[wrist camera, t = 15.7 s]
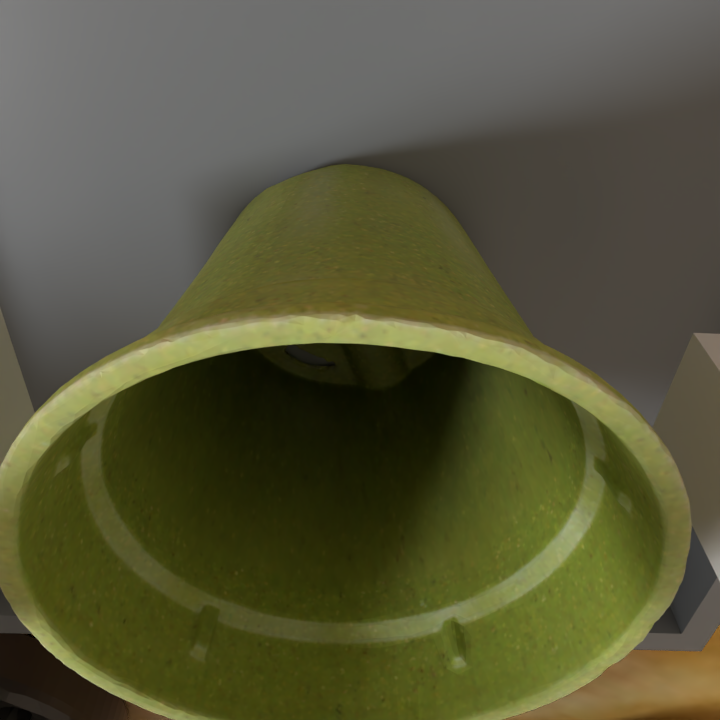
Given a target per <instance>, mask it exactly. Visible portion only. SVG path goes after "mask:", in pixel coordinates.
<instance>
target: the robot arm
mask: <svg viewBox="0 0 720 720" xmlns="http://www.w3.org/2000/svg"><path fill="white" fill-rule="evenodd" d="M34 413H35V412H34V409H33V406H32V403H31V400H30V397H29V394H28V391H27V388H26V385H25V382H24V378H23V375H22V372H21V369H20V366H19V363H18V360H17V357H16V354H15V351H14V348H13V345H12V342H11V339H10V336H9V333H8V330H7V327H6V324H5V321H4V318H3V315H2V312H1V309H0V467H1V464H2V462H3V460H4V458H5V456H6V454H7V452H8V451H9V449H10V447H11V445H12V443H13V442H14V440H15V439H16V437H17V436H18V434H19V433H20V432H21V430H22V429H23V427H24V426H25V424H26V423H27V422H28V421H29V419H30V418H31V417H32V416H33V415H34ZM652 428H653V429H654V431H655V432H656V433H657V434H658V436H659V437H660V438H661V440H662V441H663V443H664V444H665V446H666V447H667V448H668V450H669V452H670V454H671V456H672V457H673V459H674V461H675V463H676V465H677V468H678V470H679V472H680V474H681V477H682V479H683V482H684V485H685V488H686V491H687V495H688V498H689V502H690V512H691V522H692V526H693V528H694V530H695V533H696V535H697V537H698V539H699V541H700V543H701V545H702V547H703V549H704V551H705V553H706V555H707V557H708V559H709V561H710V563H711V565H712V567H713V569H714V571H715V573H716V575H717V577H718V579H719V581H720V334H710V333H693V335H692V337H691V339H690V342H689V344H688V346H687V349H686V351H685V353H684V356H683V358H682V360H681V362H680V365H679V367H678V369H677V372H676V374H675V376H674V379H673V381H672V383H671V386H670V388H669V390H668V392H667V395H666V397H665V399H664V402H663V404H662V406H661V409H660V411H659V413H658V416H657V418H656V420H655V423H654V425H653V427H652ZM0 720H128V713H127V709H126V706H125V704H124V702H123V700H122V698H120V697H117V696H115V695H113V694H111V693H109V692H107V691H106V690H104V689H102V688H100V687H99V686H97V685H95V684H93V683H92V682H90V681H89V680H87V679H85V678H84V677H82V676H80V675H79V674H78V673H77V672H75V671H74V670H72V669H70V668H69V667H67V666H66V665H64V664H63V663H62V662H61V661H60V660H59V659H57V658H56V657H55V656H54V655H53V654H52V653H51V652H49V651H48V650H47V649H46V648H45V647H44V646H43V645H42V644H41V643H40V642H39V640H37V639H35V638H32V637H29V636H27V635H24V634H21V633H0Z"/></svg>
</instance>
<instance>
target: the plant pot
mask: <svg viewBox="0 0 720 720" xmlns="http://www.w3.org/2000/svg"><path fill="white" fill-rule="evenodd" d="M289 345H294V346H297V347H298V348H300V349H302V350H304V351H306V352H308V353H310V354H312V355H315V356H317V357H320V358H324V359H325V360H326V361H327V362H330V361H332V362H334V363H335V366H334V365H331V366H316V365H311V364H307V363H304V362H301V361H299V360H297V359H296V358H294V357H292V356H290V354H289V353H288V352H287V351H286V348H287V346H289ZM691 529H692V522H691V512H690V502H689V498H688V495H687V491H686V488H685V485H684V482H683V479H682V477H681V474H680V472H679V470H678V468H677V465H676V463H675V461H674V459H673V457H672V456H671V454H670V452H669V450H668V448H667V447H666V446H665V444H664V443H663V441H662V440H661V438H660V437H659V436H658V434H657V433H656V432H655V431H654V429H653V428H652V427H651V426H650V424H649V423H648V422H647V421H646V419H645V418H644V417H643V416H642V414H641V413H640V412H639V411H638V410H637V409H636V408H635V407H634V406H633V405H632V404H631V403H630V402H629V401H628V400H627V399H626V398H625V397H624V396H623V395H622V394H621V393H619V392H618V391H617V390H616V389H614V388H613V387H612V386H611V385H609V384H608V383H607V382H606V381H604V380H603V379H602V378H601V377H600V376H598V375H597V374H596V373H594V372H593V371H591V370H589V369H588V368H586V367H585V366H583V365H582V364H580V363H578V362H577V361H575V360H574V359H572V358H570V357H568V356H566V355H564V354H562V353H561V352H559V351H557V350H555V349H553V348H551V347H549V346H547V345H544V344H543V343H542V342H540V341H539V340H538V339H536V338H535V337H534V336H533V335H532V333H531V332H530V330H529V328H528V327H527V325H526V324H525V322H524V321H523V319H522V318H521V316H520V315H519V313H518V312H517V310H516V309H515V307H514V306H513V304H512V303H511V301H510V300H509V298H508V297H507V295H506V294H505V292H504V291H503V289H502V288H501V286H500V285H499V283H498V282H497V280H496V279H495V277H494V276H493V274H492V272H491V271H490V269H489V268H488V266H487V265H486V263H485V262H484V260H483V258H482V257H481V255H480V254H479V252H478V250H477V249H476V247H475V246H474V244H473V243H472V241H471V239H470V238H469V236H468V235H467V233H466V232H465V230H464V229H463V227H462V226H461V224H460V223H459V221H458V220H457V219H456V217H455V216H454V215H453V214H452V212H451V211H450V210H449V209H448V207H447V206H446V205H445V204H444V203H442V202H441V201H440V200H439V199H438V198H437V197H436V196H435V195H433V194H432V193H431V192H430V191H428V190H427V189H426V188H424V187H423V186H421V185H420V184H418V183H416V182H414V181H412V180H411V179H409V178H407V177H404V176H402V175H399V174H397V173H393V172H390V171H387V170H384V169H380V168H374V167H368V166H362V165H351V164H341V165H332V166H327V167H324V168H320V169H316V170H313V171H309V172H306V173H303V174H300V175H297V176H294V177H292V178H289V179H287V180H285V181H282V182H280V183H278V184H276V185H273V186H271V187H269V188H267V189H266V190H264V191H263V192H262V193H260V194H259V195H258V196H257V197H255V198H254V199H253V200H252V201H251V202H250V203H249V204H248V205H247V206H246V207H245V209H244V210H243V211H242V212H241V213H240V215H239V216H238V218H237V219H236V221H235V222H234V223H233V225H232V226H231V228H230V229H229V230H228V232H227V233H226V234H225V236H224V237H223V239H222V240H221V241H220V243H219V244H218V246H217V247H216V249H215V250H214V252H213V253H212V255H211V256H210V258H209V259H208V261H207V262H206V264H205V265H204V266H203V268H202V269H201V271H200V272H199V274H198V275H197V276H196V278H195V279H194V280H193V282H192V283H191V284H190V286H189V287H188V288H187V290H186V291H185V292H184V294H183V295H182V296H181V298H180V299H179V300H178V302H177V303H176V305H175V306H174V307H173V309H172V310H171V311H170V312H169V314H168V315H167V316H166V318H165V319H164V320H163V322H162V323H161V324H160V326H159V327H158V328H157V329H156V330H154V331H153V332H151V333H150V334H148V335H147V336H145V337H144V338H142V339H140V340H137V341H135V342H133V343H131V344H129V345H127V346H125V347H123V348H121V349H119V350H117V351H115V352H113V353H111V354H109V355H108V356H106V357H104V358H102V359H101V360H99V361H98V362H96V363H94V364H93V365H91V366H89V367H88V368H86V369H85V370H83V371H82V372H80V373H79V374H78V375H76V376H75V377H74V378H72V379H71V380H70V381H68V382H67V383H66V384H64V385H63V386H61V387H60V388H59V389H58V390H57V391H56V392H55V393H54V394H53V395H52V396H51V397H50V398H49V399H48V400H47V401H46V402H45V403H44V404H43V405H42V406H41V407H40V408H39V409H38V410H37V411H36V412H35V413H34V415H33V416H32V417H31V418H30V419H29V421H28V422H27V423H26V424H25V426H24V427H23V429H22V430H21V432H20V433H19V434H18V436H17V437H16V439H15V440H14V442H13V443H12V445H11V447H10V449H9V451H8V452H7V454H6V456H5V458H4V460H3V462H2V464H1V467H0V587H1V590H2V592H3V594H4V596H5V597H6V599H7V600H8V602H9V603H10V605H11V607H12V609H13V611H14V612H15V614H16V615H17V617H18V619H19V620H20V621H21V622H22V623H23V624H24V625H25V627H26V628H27V629H28V630H29V631H30V632H31V633H32V634H33V635H34V636H35V637H36V638H37V639H38V640H39V642H40V643H41V644H42V645H43V646H44V647H45V648H46V649H47V650H48V651H49V652H51V653H52V654H53V655H54V656H55V657H56V658H57V659H59V660H60V661H61V662H62V663H63V664H64V665H66V666H67V667H69V668H70V669H72V670H74V671H75V672H77V673H78V674H79V675H80V676H82V677H84V678H85V679H87V680H89V681H90V682H92V683H93V684H95V685H97V686H99V687H100V688H102V689H104V690H106V691H107V692H109V693H111V694H113V695H115V696H117V697H120V698H122V699H124V700H126V701H128V702H130V703H133V704H135V705H137V706H139V707H141V708H143V709H146V710H148V711H150V712H153V713H156V714H159V715H162V716H165V717H167V718H170V719H173V720H504V719H506V718H509V717H513V716H516V715H520V714H522V713H525V712H528V711H532V710H535V709H537V708H539V707H541V706H543V705H547V704H550V703H552V702H554V701H556V700H558V699H560V698H562V697H564V696H567V695H569V694H571V693H572V692H574V691H576V690H577V689H579V688H581V687H583V686H584V685H586V684H588V683H590V682H591V681H593V680H594V679H596V678H597V677H599V676H600V675H601V674H602V673H603V672H604V671H605V670H606V669H607V668H609V667H610V666H611V665H613V664H615V663H617V662H619V661H620V660H622V659H623V658H624V657H626V656H627V655H628V654H629V653H630V652H631V651H632V650H633V649H634V648H635V647H636V646H637V645H638V644H639V643H641V642H642V641H643V640H644V638H645V637H646V636H647V634H648V633H649V631H650V630H651V628H652V627H653V625H654V623H655V622H656V621H657V620H659V619H660V617H661V616H662V615H663V614H664V612H665V611H666V610H667V608H668V607H669V606H670V605H671V603H672V601H673V599H674V597H675V595H676V593H677V591H678V588H679V586H680V584H681V583H682V581H683V577H684V574H685V569H686V561H687V557H688V553H689V550H690V540H691Z"/></svg>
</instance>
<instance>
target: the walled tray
mask: <svg viewBox="0 0 720 720" xmlns="http://www.w3.org/2000/svg"><path fill="white" fill-rule="evenodd" d="M341 164H351V165H362V166H368V167H374V168H380V169H384V170H387V171H390V172H393V173H397V174H399V175H402V176H404V177H407V178H409V179H411V180H412V181H414V182H416V183H418V184H420V185H421V186H423V187H424V188H426V189H427V190H428V191H430V192H431V193H432V194H433V195H435V196H436V197H437V198H438V199H439V200H440V201H441V202H442V203H444V204H445V205H446V206H447V207H448V209H449V210H450V211H451V212H452V214H453V215H454V216H455V217H456V219H457V220H458V221H459V223H460V224H461V226H462V227H463V229H464V230H465V232H466V233H467V235H468V236H469V238H470V239H471V241H472V243H473V244H474V246H475V247H476V249H477V250H478V252H479V254H480V255H481V257H482V258H483V260H484V262H485V263H486V265H487V266H488V268H489V269H490V271H491V272H492V274H493V276H494V277H495V279H496V280H497V282H498V283H499V285H500V286H501V288H502V289H503V291H504V292H505V294H506V295H507V297H508V298H509V300H510V301H511V303H512V304H513V306H514V307H515V309H516V310H517V312H518V313H519V315H520V316H521V318H522V319H523V321H524V322H525V324H526V325H527V327H528V328H529V330H530V332H531V333H532V335H533V336H534V337H535V338H536V339H538V340H539V341H540V342H542V343H543V344H544V345H547V346H549V347H551V348H553V349H555V350H557V351H559V352H561V353H562V354H564V355H566V356H568V357H570V358H572V359H574V360H575V361H577V362H578V363H580V364H582V365H583V366H585V367H586V368H588V369H589V370H591V371H593V372H594V373H596V374H597V375H598V376H600V377H601V378H602V379H603V380H604V381H606V382H607V383H608V384H609V385H611V386H612V387H613V388H614V389H616V390H617V391H618V392H619V393H621V394H622V395H623V396H624V397H625V398H626V399H627V400H628V401H629V402H630V403H631V404H632V405H633V406H634V407H635V408H636V409H637V410H638V411H639V412H640V413H641V414H642V416H643V417H644V418H645V419H646V421H647V422H648V423H649V424H650V426H651V427H653V425H654V423H655V420H656V418H657V416H658V413H659V411H660V409H661V406H662V404H663V402H664V399H665V397H666V395H667V392H668V390H669V388H670V386H671V383H672V381H673V379H674V376H675V374H676V372H677V369H678V367H679V365H680V362H681V360H682V358H683V356H684V353H685V351H686V349H687V346H688V344H689V342H690V339H691V337H692V335H693V333H710V334H720V0H0V309H1V312H2V315H3V318H4V321H5V324H6V327H7V330H8V333H9V336H10V339H11V342H12V345H13V348H14V351H15V354H16V357H17V360H18V363H19V366H20V369H21V372H22V375H23V378H24V382H25V385H26V388H27V391H28V394H29V397H30V400H31V403H32V406H33V409H34V412H36V411H37V410H38V409H39V408H40V407H41V406H42V405H43V404H44V403H45V402H46V401H47V400H48V399H49V398H50V397H51V396H52V395H53V394H54V393H55V392H56V391H57V390H58V389H59V388H60V387H61V386H63V385H64V384H66V383H67V382H68V381H70V380H71V379H72V378H74V377H75V376H76V375H78V374H79V373H80V372H82V371H83V370H85V369H86V368H88V367H89V366H91V365H93V364H94V363H96V362H98V361H99V360H101V359H102V358H104V357H106V356H108V355H109V354H111V353H113V352H115V351H117V350H119V349H121V348H123V347H125V346H127V345H129V344H131V343H133V342H135V341H137V340H140V339H142V338H144V337H145V336H147V335H148V334H150V333H151V332H153V331H154V330H156V329H157V328H158V327H159V326H160V324H161V323H162V322H163V320H164V319H165V318H166V316H167V315H168V314H169V312H170V311H171V310H172V309H173V307H174V306H175V305H176V303H177V302H178V300H179V299H180V298H181V296H182V295H183V294H184V292H185V291H186V290H187V288H188V287H189V286H190V284H191V283H192V282H193V280H194V279H195V278H196V276H197V275H198V274H199V272H200V271H201V269H202V268H203V266H204V265H205V264H206V262H207V261H208V259H209V258H210V256H211V255H212V253H213V252H214V250H215V249H216V247H217V246H218V244H219V243H220V241H221V240H222V239H223V237H224V236H225V234H226V233H227V232H228V230H229V229H230V228H231V226H232V225H233V223H234V222H235V221H236V219H237V218H238V216H239V215H240V213H241V212H242V211H243V210H244V209H245V207H246V206H247V205H248V204H249V203H250V202H251V201H252V200H253V199H254V198H255V197H257V196H258V195H259V194H260V193H262V192H263V191H264V190H266V189H267V188H269V187H271V186H273V185H276V184H278V183H280V182H282V181H285V180H287V179H289V178H292V177H294V176H297V175H300V174H303V173H306V172H309V171H313V170H316V169H320V168H324V167H327V166H332V165H341ZM286 351H287V352H288V353H289V354H290V356H292V357H294V358H296V359H297V360H299V361H301V362H304V363H307V364H311V365H316V366H331V365H334V366H335V363H334V362H332V361H330V362H327V361H326V360H325V359H324V358H320V357H317V356H315V355H312V354H310V353H308V352H306V351H304V350H302V349H300V348H298V347H297V346H294V345H289V346H287V348H286ZM719 625H720V581H719V579H718V577H717V575H716V573H715V571H714V569H713V567H712V565H711V563H710V561H709V559H708V557H707V555H706V553H705V551H704V549H703V547H702V545H701V543H700V541H699V539H698V537H697V535H696V533H695V530H694V528H693V526H692V529H691V540H690V550H689V553H688V557H687V561H686V569H685V574H684V577H683V581H682V583H681V584H680V586H679V588H678V591H677V593H676V595H675V597H674V599H673V601H672V603H671V605H670V606H669V607H668V608H667V610H666V611H665V612H664V614H663V615H662V616H661V617H660V619H659V620H657V621H656V622H655V623H654V625H653V627H652V628H651V630H650V631H649V633H648V634H647V636H646V637H645V638H644V640H643V641H642V642H641V643H639V644H638V645H637V646H636V647H635V648H634V649H633V650H668V651H702V649H703V648H704V647H705V645H706V644H707V642H708V641H709V639H710V638H711V636H712V635H713V633H714V632H715V630H716V629H717V628H718V626H719ZM0 633H22V634H32V633H31V632H30V631H29V630H28V629H27V628H26V627H25V625H24V624H23V623H22V622H21V621H20V620H19V619H18V617H17V615H16V614H15V612H14V611H13V609H12V607H11V605H10V603H9V602H8V600H7V599H6V597H5V596H4V594H3V592H2V590H1V587H0Z"/></svg>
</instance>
